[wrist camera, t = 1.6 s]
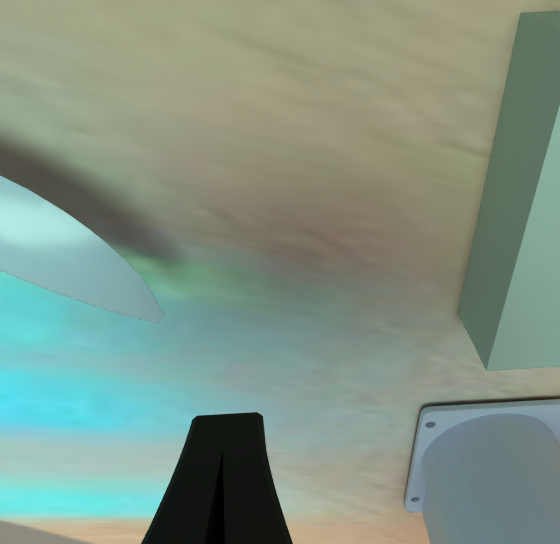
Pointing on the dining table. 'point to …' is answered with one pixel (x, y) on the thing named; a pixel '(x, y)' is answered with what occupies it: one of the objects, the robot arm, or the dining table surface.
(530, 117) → the t block
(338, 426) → the dining table surface
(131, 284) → the propeller
